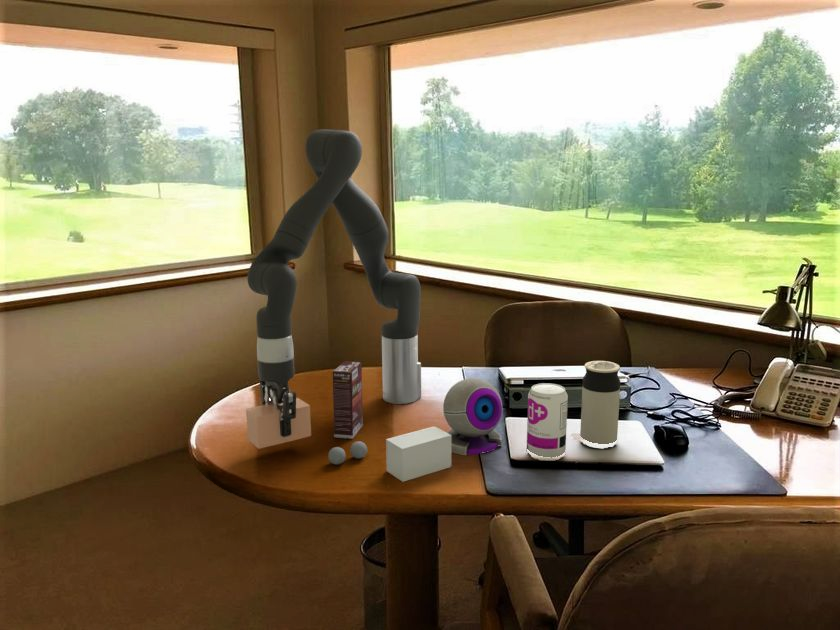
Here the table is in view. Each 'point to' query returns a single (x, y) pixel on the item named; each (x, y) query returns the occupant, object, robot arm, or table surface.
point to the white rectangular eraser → (418, 453)
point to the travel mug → (600, 402)
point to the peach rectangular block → (276, 424)
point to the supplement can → (547, 420)
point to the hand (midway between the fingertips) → (279, 430)
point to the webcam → (473, 416)
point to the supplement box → (347, 399)
